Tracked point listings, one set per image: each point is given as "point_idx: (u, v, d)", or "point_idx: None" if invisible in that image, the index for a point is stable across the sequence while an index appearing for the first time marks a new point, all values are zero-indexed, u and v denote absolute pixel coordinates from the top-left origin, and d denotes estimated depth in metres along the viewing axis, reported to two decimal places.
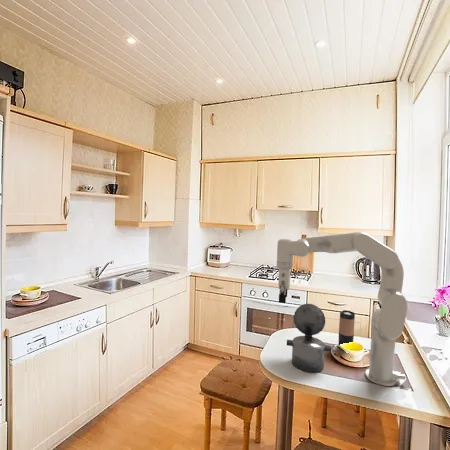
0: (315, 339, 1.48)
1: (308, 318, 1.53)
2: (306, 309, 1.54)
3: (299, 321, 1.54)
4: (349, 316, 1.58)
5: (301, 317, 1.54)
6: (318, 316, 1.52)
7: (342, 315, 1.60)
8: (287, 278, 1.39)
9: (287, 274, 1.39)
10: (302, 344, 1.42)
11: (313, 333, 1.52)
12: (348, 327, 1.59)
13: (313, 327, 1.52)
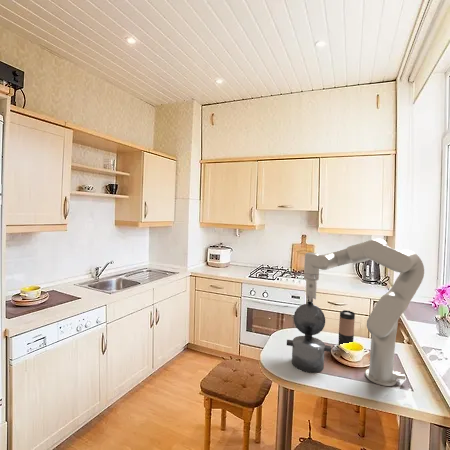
0: (315, 339, 1.48)
1: (308, 318, 1.53)
2: (306, 309, 1.54)
3: (299, 321, 1.54)
4: (349, 316, 1.58)
5: (301, 317, 1.54)
6: (318, 316, 1.52)
7: (342, 315, 1.60)
8: (314, 289, 1.52)
9: (314, 285, 1.52)
10: (302, 344, 1.42)
11: (313, 333, 1.52)
12: (348, 327, 1.59)
13: (313, 327, 1.52)
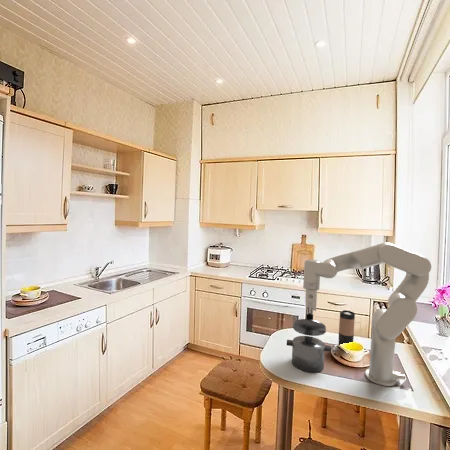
0: (315, 339, 1.48)
1: (308, 328, 1.46)
2: (305, 324, 1.43)
3: (299, 329, 1.49)
4: (349, 316, 1.58)
5: (300, 327, 1.47)
6: (318, 328, 1.43)
7: (342, 315, 1.60)
8: (315, 299, 1.39)
9: (315, 295, 1.39)
10: (302, 344, 1.42)
11: (313, 335, 1.50)
12: (348, 327, 1.59)
13: (313, 332, 1.48)
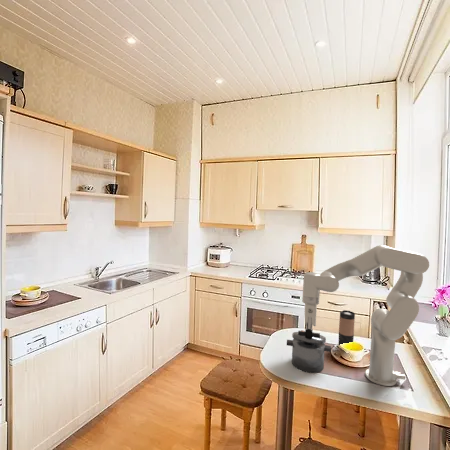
0: None
1: None
2: None
3: None
4: (349, 316, 1.58)
5: None
6: None
7: (342, 315, 1.60)
8: (314, 314, 1.34)
9: (314, 310, 1.34)
10: (302, 344, 1.42)
11: None
12: (348, 327, 1.59)
13: None
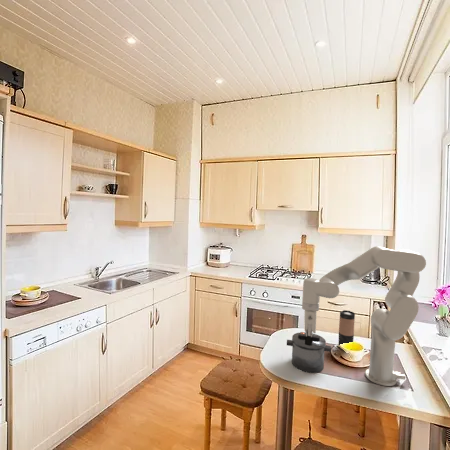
0: None
1: None
2: None
3: None
4: (349, 316, 1.58)
5: None
6: None
7: (342, 315, 1.60)
8: (314, 321, 1.33)
9: (314, 317, 1.33)
10: None
11: None
12: (348, 327, 1.59)
13: None
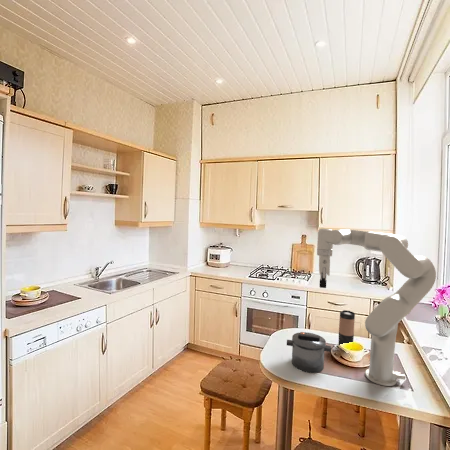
0: None
1: None
2: None
3: None
4: (349, 316, 1.58)
5: None
6: None
7: (342, 315, 1.60)
8: (328, 264, 1.49)
9: (328, 261, 1.49)
10: None
11: None
12: (348, 327, 1.59)
13: None
